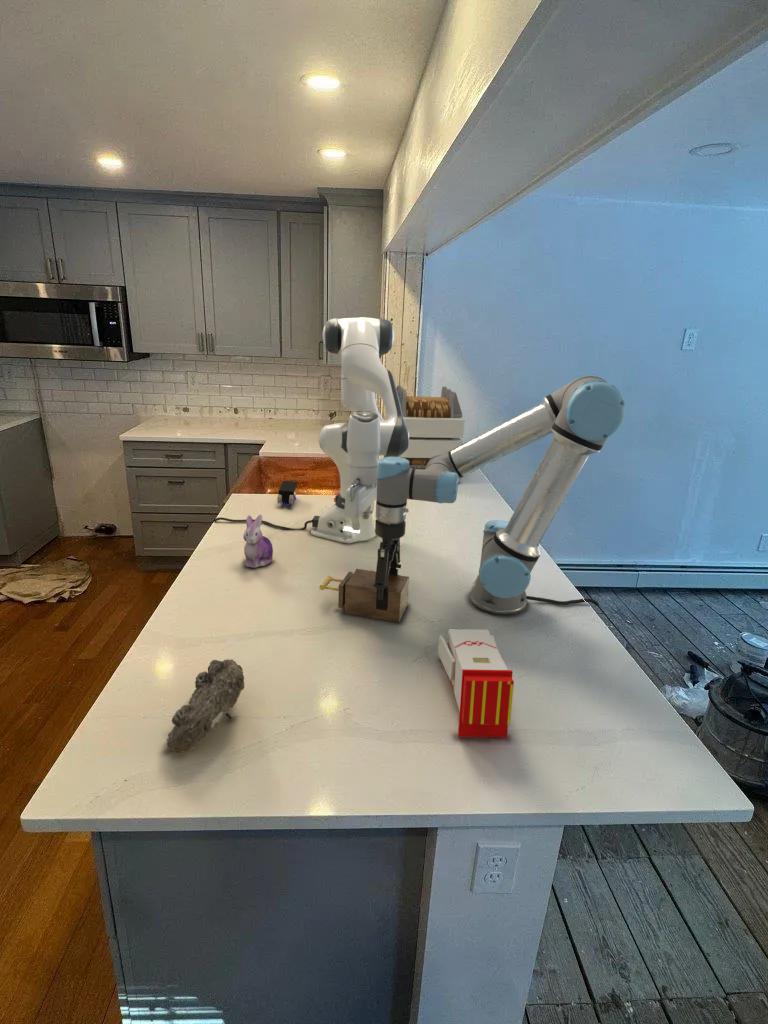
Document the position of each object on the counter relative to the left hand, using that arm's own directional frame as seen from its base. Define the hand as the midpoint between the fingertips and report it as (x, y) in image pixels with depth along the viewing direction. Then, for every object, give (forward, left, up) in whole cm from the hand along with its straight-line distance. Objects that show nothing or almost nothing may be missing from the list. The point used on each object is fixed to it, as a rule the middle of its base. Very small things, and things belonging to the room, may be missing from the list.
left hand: (361, 524), depth 153 cm
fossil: (-10, -59, -20) cm, 63 cm away
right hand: (+10, -9, -16) cm, 21 cm away
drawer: (+2, -9, -19) cm, 21 cm away
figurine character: (-49, +59, -20) cm, 79 cm away
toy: (+36, -36, -20) cm, 54 cm away
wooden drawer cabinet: (+8, -9, -20) cm, 23 cm away
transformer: (-10, +124, -20) cm, 126 cm away
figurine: (-34, +6, -20) cm, 40 cm away
